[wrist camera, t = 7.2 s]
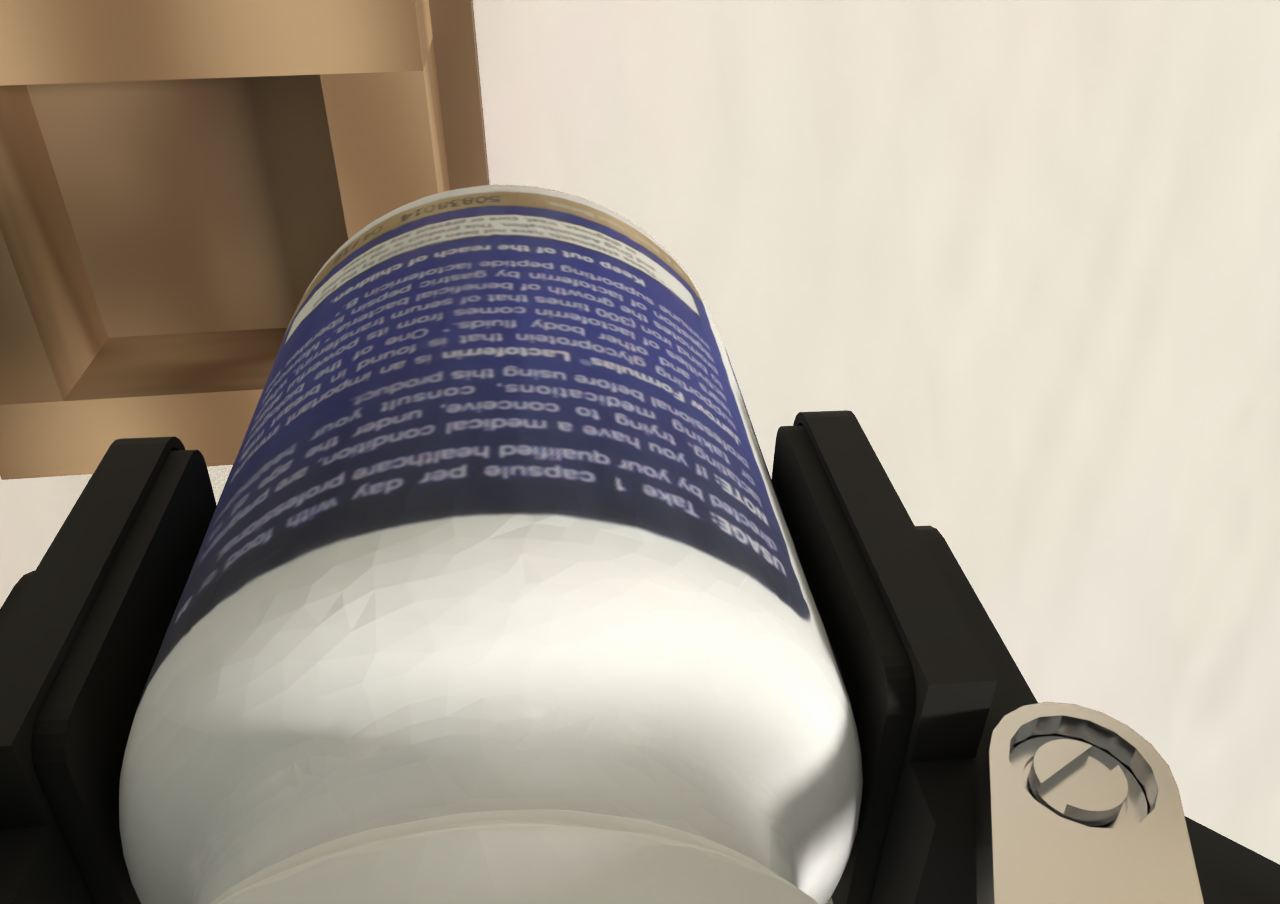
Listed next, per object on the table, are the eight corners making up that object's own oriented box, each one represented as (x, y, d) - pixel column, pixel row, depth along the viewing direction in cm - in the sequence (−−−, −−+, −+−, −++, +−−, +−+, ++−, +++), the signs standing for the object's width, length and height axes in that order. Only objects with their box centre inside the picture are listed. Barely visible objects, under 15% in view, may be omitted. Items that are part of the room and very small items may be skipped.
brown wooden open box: (461, -117, 24) (453, -97, 21) (508, 395, 32) (508, 476, 28) (-165, -104, 23) (-295, -81, 20) (39, 423, 31) (-25, 513, 27)
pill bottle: (192, 325, 13) (-377, 1292, 5) (574, 76, 12) (719, 777, 4) (462, 605, 16) (409, 1503, 8) (790, 428, 15) (1145, 1263, 6)
